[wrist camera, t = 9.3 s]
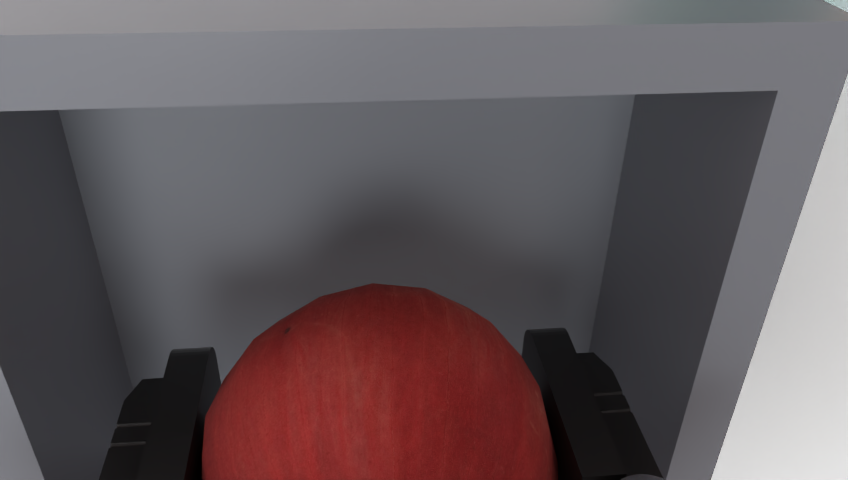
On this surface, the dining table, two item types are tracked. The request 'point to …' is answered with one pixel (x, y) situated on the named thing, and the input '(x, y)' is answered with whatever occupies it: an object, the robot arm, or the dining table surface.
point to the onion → (379, 396)
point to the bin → (399, 187)
